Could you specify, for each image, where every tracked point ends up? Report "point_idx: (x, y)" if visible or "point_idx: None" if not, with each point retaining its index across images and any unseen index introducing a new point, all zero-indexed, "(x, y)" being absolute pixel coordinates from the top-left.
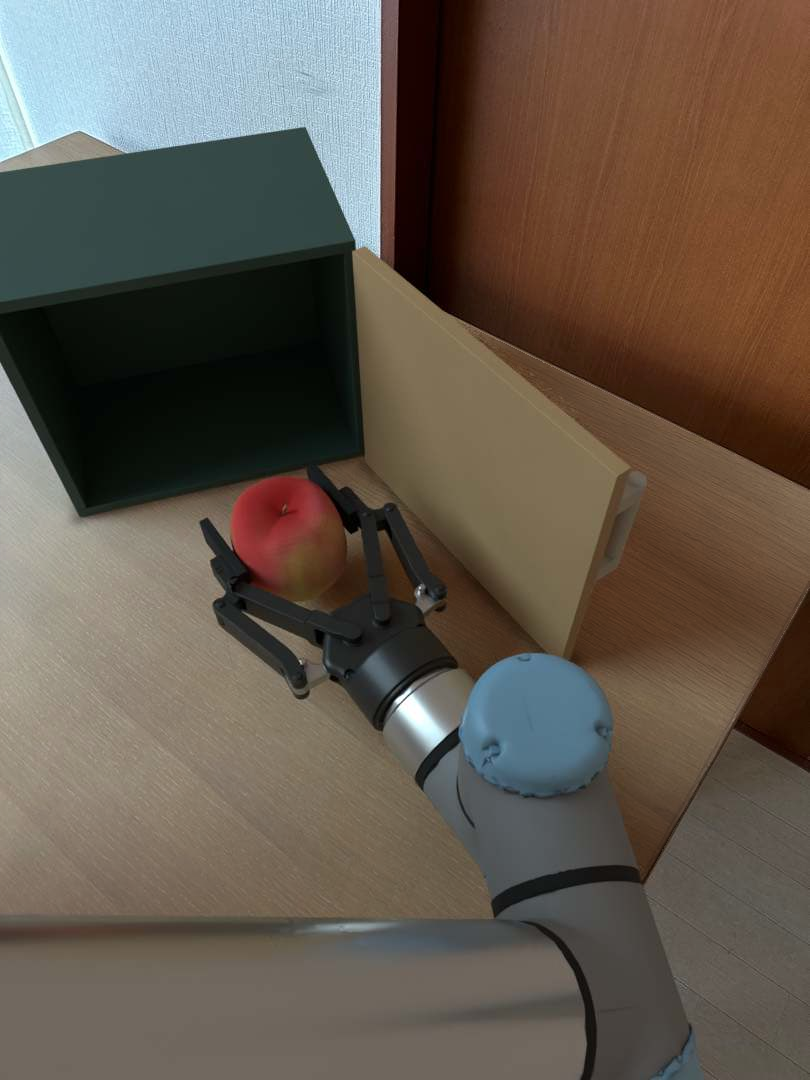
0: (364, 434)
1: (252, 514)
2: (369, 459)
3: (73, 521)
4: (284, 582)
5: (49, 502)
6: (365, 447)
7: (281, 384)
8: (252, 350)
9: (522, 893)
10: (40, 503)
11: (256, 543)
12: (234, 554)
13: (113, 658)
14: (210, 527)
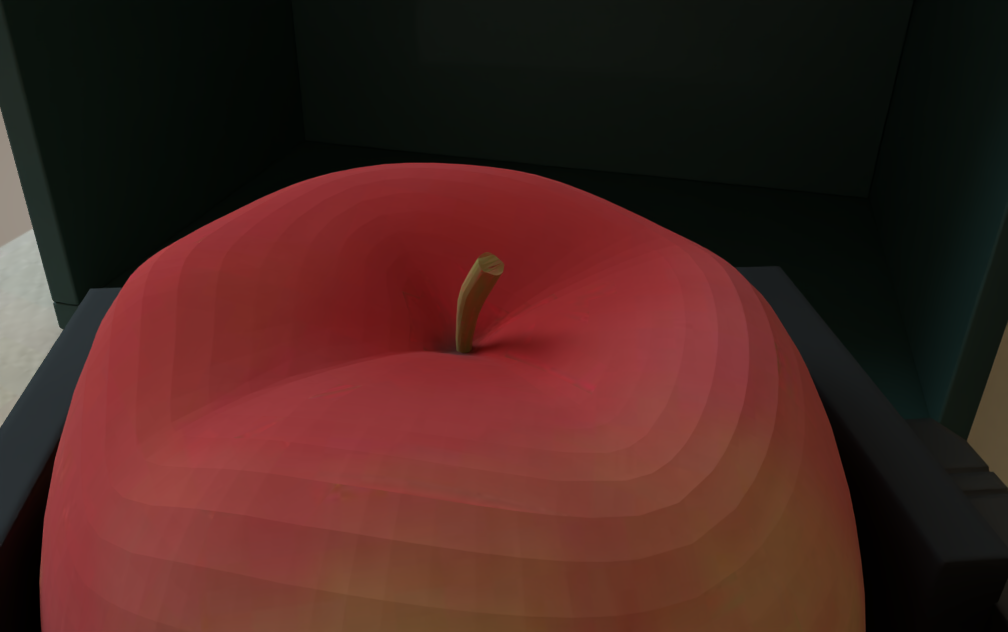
0: (998, 359)
1: (242, 245)
2: None
3: (38, 331)
4: None
5: (45, 283)
6: (978, 421)
7: (736, 238)
8: (694, 172)
9: None
10: (28, 278)
11: (114, 428)
12: (29, 482)
13: None
14: (99, 322)
